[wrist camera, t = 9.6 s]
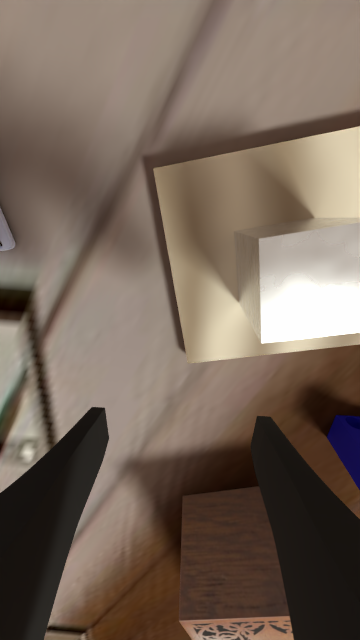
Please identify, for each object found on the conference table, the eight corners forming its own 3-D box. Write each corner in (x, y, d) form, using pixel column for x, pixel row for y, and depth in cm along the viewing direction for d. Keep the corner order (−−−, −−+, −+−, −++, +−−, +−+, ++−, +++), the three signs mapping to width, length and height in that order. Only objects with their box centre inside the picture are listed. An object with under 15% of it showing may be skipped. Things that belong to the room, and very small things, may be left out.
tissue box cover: (182, 493, 29) (178, 620, 20) (303, 478, 27) (360, 613, 18) (224, 586, 39) (234, 700, 30) (315, 581, 37) (356, 702, 27)
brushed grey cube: (238, 302, 17) (261, 343, 12) (234, 230, 15) (258, 238, 10) (310, 293, 17) (369, 331, 11) (314, 217, 15) (389, 217, 9)
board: (188, 355, 20) (187, 363, 19) (155, 172, 15) (153, 168, 14) (357, 336, 19) (367, 343, 18) (390, 124, 14) (408, 116, 12)
